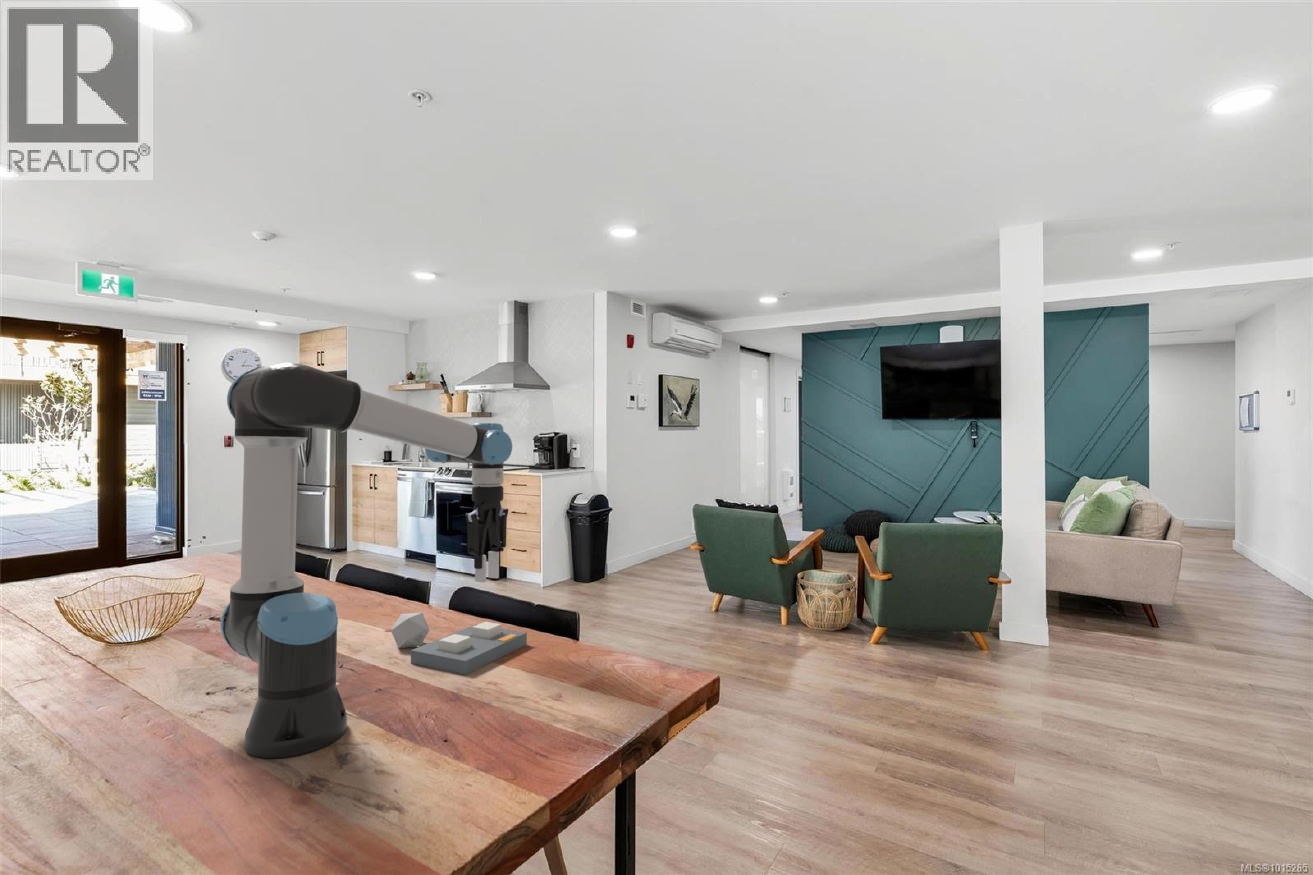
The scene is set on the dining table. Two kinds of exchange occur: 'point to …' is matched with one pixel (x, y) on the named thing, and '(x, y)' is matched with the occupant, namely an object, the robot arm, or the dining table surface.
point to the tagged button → (486, 630)
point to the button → (455, 643)
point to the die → (410, 630)
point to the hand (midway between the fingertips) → (487, 579)
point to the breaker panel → (469, 651)
